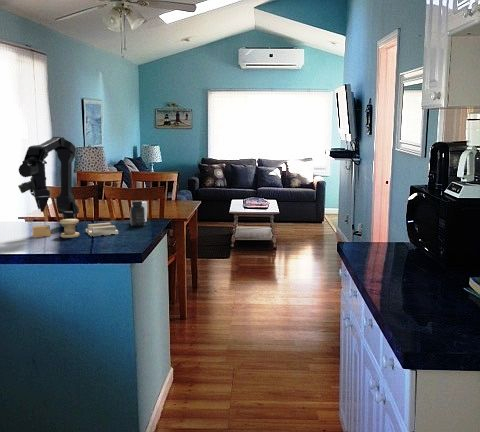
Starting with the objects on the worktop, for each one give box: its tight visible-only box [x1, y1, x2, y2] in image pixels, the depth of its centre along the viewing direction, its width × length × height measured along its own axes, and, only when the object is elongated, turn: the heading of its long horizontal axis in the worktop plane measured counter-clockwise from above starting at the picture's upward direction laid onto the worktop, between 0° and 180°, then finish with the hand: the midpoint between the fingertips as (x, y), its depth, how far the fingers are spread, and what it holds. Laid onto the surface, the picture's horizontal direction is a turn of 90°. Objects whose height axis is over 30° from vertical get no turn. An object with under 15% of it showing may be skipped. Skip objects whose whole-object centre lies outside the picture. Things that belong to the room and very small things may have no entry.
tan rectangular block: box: [32, 224, 51, 238], centre depth 247 cm, size 4×7×4 cm, turn 116°
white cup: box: [131, 200, 148, 223], centre depth 282 cm, size 8×8×10 cm
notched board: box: [85, 222, 119, 238], centre depth 253 cm, size 12×12×4 cm
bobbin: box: [59, 218, 80, 239], centre depth 247 cm, size 8×8×7 cm
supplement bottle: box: [129, 200, 146, 227], centre depth 271 cm, size 7×7×12 cm
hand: (40, 210), depth 246 cm, fingers open, 9 cm apart
